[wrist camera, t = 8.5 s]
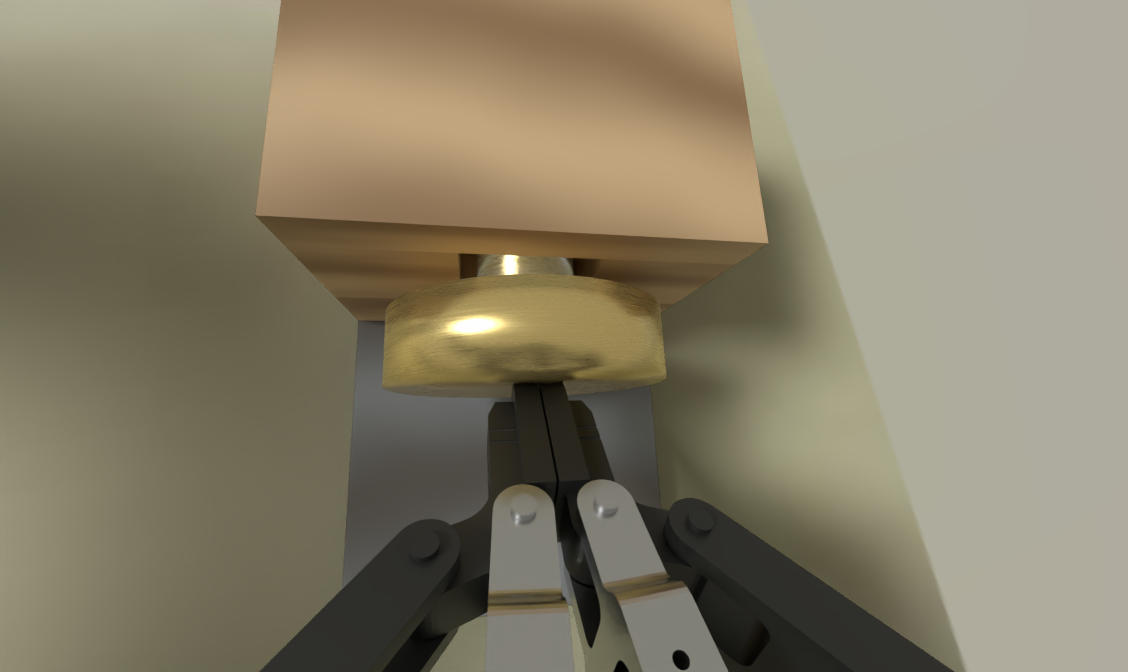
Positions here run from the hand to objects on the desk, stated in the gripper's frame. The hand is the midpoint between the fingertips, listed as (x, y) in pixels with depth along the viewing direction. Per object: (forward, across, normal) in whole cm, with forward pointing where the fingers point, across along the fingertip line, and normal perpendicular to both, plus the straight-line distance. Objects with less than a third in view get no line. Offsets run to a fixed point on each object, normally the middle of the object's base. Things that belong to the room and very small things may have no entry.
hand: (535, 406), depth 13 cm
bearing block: (+6, 0, -2) cm, 7 cm away
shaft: (+9, 0, +4) cm, 10 cm away
